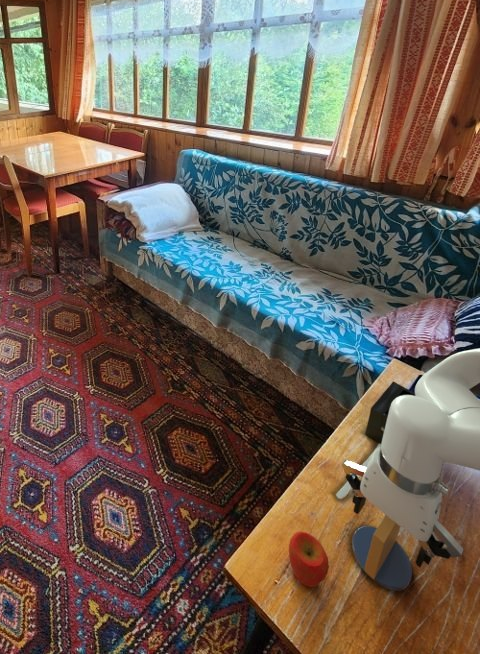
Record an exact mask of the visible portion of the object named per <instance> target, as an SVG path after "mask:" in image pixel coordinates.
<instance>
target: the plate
mask: <svg viewBox="0 0 480 654" xmlns="http://www.w3.org/2000/svg"><path fill="white" fill-rule="evenodd" d="M377 528H378V527H375V526H370V525H364V526H361V527H358V528H357V529H356V530H355V531H354V533H353V536H352V541H351V549H352V552H353V556H354V558H355V560H356V563H357V564H358V566H359V567H360V569H361V570H362V571H363V572H364V573H365V574H366V576H367V577H368V578H369V579H371V580H372V581H373V582H374V583H376V584H377V585H379V586H381V587H382V588H384V589H386V590H389V591H395V592H397V591H399V592H400V591H404V590H405V589H407V588H408V586H410V583H411V580H412V577H413V569H412V565H411V561H410V559H409V557H408V555H407V553H406V552H405V550H404V548H403V547H402V546H401V545H400V543H399V542H398V541H397V540H396V542H395V543H394V545H393V547H392V549H391V550H390V552H389V554H388V556H387V557H386V559H385V561H384V563H383V564H382V566H381V568H380V570H379V571H378V573H377V575H376V577H375V578H374V579H373V578H372V577H371V576H370V575H368V574H367V573H366V572H365V571H364V568H365V565H366V561H367V557H368V553H369V550H370V546H371V542H372V538H373V535H374V533H375V531H376V529H377Z"/></svg>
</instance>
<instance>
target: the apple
mask: <svg viewBox="0 0 480 654" xmlns="http://www.w3.org/2000/svg"><path fill="white" fill-rule="evenodd" d="M288 554H289V561H290V567H291V570H292V572H293V574H294V576H295V577H296V579H297V580H298V581H299V583H300V584H302V585H303V586H305V587H308V588H309V587H310V588H312V587H315V586H318V585H319V584H321V583H322V582H323V581H324V580H325V579H326V577H327V575H328V573H329V568H330V566H329V565H330V563H329V557H328V554H327V553H326V550H325V549H324V546H323V544H322V542H320V541H319V540H318V539H317V538H316V537H315V536H314V535H312V534H311V533H308V532H306V531H301V530H299V531H297V532H295V533H293V535H292V536H291V538H290V540H289V544H288Z"/></svg>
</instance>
